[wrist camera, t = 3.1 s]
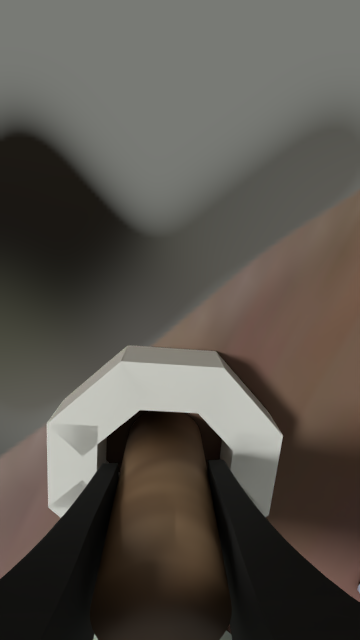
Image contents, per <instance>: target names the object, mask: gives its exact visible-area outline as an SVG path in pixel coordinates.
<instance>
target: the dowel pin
mask: <svg viewBox="0 0 360 640" xmlns="http://www.w3.org/2000/svg"><path fill="white" fill-rule="evenodd" d="M231 614H232V605H231V598H230V593H229V587H228V582H227V576H226V571H225V565H224V559H223V554H222V548H221V543H220V537H219V532H218V526H217V521H216V515H215V510H214V504H213V499H212V494H211V488H210V483H209V477H208V471H207V466H206V460H205V455H204V449H203V444H202V438H201V433H200V430H199V428H198V426H197V424H196V423H195V421H194V420H193V419H192V418H191V417H190V416H188V415H187V414H185V413H183V412H166V411H149V412H147V413H145V414H143V415H142V416H140V417H139V418H138V419H137V420H136V421H135V422H134V424H133V425H132V427H131V429H130V431H129V434H128V439H127V443H126V448H125V452H124V457H123V461H122V466H121V470H120V475H119V479H118V484H117V488H116V493H115V497H114V502H113V506H112V511H111V516H110V520H109V525H108V529H107V534H106V538H105V543H104V547H103V552H102V556H101V561H100V565H99V570H98V574H97V579H96V583H95V588H94V592H93V597H92V601H91V606H90V622H91V626H92V629H93V631H94V634H95V635H96V637H97V639H98V640H220V638H221V637H222V636H223V635H224V633H225V631H226V630H227V628H228V625H229V623H230V619H231Z"/></svg>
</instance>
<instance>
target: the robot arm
mask: <svg viewBox="0 0 360 640" xmlns="http://www.w3.org/2000/svg"><path fill="white" fill-rule="evenodd" d="M208 477H209V483H210V488H211V494H212V499H213V504H214V510H215V515H216V521H217V526H218V532H219V537H220V543H221V548H222V554H223V559H224V565H225V571H226V576H227V582H228V587H229V593H230V598H231V605H232V614H231V619H230V628H231V635H232V640H360V602H358V601H357V600H355V599H354V598H353V597H351V596H350V595H348V594H347V593H346V592H344V591H343V590H342V589H341V588H339V587H338V586H337V585H336V584H334V583H333V582H332V581H330V580H329V579H328V578H327V577H326V576H324V575H323V574H322V573H321V572H320V571H319V570H317V569H316V568H315V567H314V566H313V565H312V564H311V563H310V562H308V561H307V560H306V559H305V558H304V557H303V556H302V555H301V554H299V553H298V552H297V551H296V550H295V549H294V548H293V547H292V546H291V545H290V544H289V543H288V542H287V541H286V540H285V539H284V538H283V537H282V536H281V534H280V533H279V532H278V531H277V530H276V529H275V528H274V527H273V526H272V525H271V524H270V522H269V521H268V520H267V519H266V518H265V516H264V515H263V514H262V513H261V512H260V511H259V509H258V508H257V507H256V505H255V504H254V503H253V502H252V500H251V499H250V498H249V496H248V495H247V494H246V492H245V491H244V490H243V488H242V487H241V485H240V484H239V482H238V481H237V479H236V478H235V476H234V475H233V473H232V472H231V470H230V469H229V467H228V465H227V463H226V462H225V461H224V460H208ZM118 479H119V471H118V463H103V464H102V465H101V466H100V467H99V468H98V470H97V471H96V473H95V474H94V476H93V477H92V479H91V480H90V482H89V483H88V484H87V486H86V487H85V488H84V490H83V491H82V492H81V494H80V495H79V496H78V498H77V499H76V500H75V501H74V503H73V504H72V505H71V507H70V508H69V509H68V510H67V511H66V513H65V514H64V515H63V516H62V517H61V519H60V520H59V521H58V522H57V523H56V524H55V526H54V527H53V528H52V529H51V530H50V531H49V532H48V533H47V535H46V536H45V537H44V538H43V539H42V540H41V541H40V542H39V543H38V544H37V545H36V546H35V547H34V548H33V549H32V550H31V551H30V552H29V553H28V554H27V555H26V556H25V557H24V558H23V559H22V560H21V561H20V562H19V563H18V564H17V565H15V566H14V567H13V568H12V569H11V570H10V571H9V572H8V573H7V574H6V575H5V576H3V577H2V578H1V579H0V640H93V639H94V631H93V629H92V626H91V622H90V606H91V601H92V597H93V592H94V588H95V583H96V579H97V574H98V570H99V565H100V561H101V556H102V552H103V547H104V543H105V538H106V534H107V529H108V525H109V520H110V516H111V511H112V506H113V502H114V497H115V493H116V488H117V484H118ZM358 591H359V593H360V584H359V586H358Z"/></svg>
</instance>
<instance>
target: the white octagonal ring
mask: <svg viewBox="0 0 360 640" xmlns="http://www.w3.org/2000/svg"><path fill="white" fill-rule="evenodd" d="M139 410H148V411H166V412H185V413H198V414H199V415H200V416H201V417H202V418H203V419H204V420H205V421H206V422H207V423H208V425H209V426H210V427H211V428H212V429H213V430H214V431H215V432H216V433H217V434H218V435H219V436H220V437H221V438H222V444H221V452H220V460H224V461H225V462H226V463H227V465H228V467H229V469H230V470H231V472H232V473H233V475H234V476H235V478H236V479H237V481H238V482H239V484H240V485H241V487H242V488H243V490H244V491H245V492H246V494H247V495H248V496H249V498H250V499H251V500H252V502H253V503H254V504H255V505H256V507H257V508H258V509H259V511H260V512H261V513H262V514H263V515H264V516H265V517H267V516H268V515H269V511H270V506H271V500H272V494H273V489H274V483H275V478H276V472H277V467H278V461H279V455H280V450H281V444H282V439H283V434H282V433H281V431H280V430H279V428H278V427H277V425H276V423H275V422H274V420H273V419H272V417H271V416H270V414H269V412H268V411H267V410H266V409H265V407H264V406H263V405H262V404H261V403H260V402H259V401H258V399H257V398H256V397H255V396H254V395H253V394H252V392H251V391H250V390H249V389H248V388H247V387H246V386H245V384H244V383H243V382H242V381H241V380H240V379H239V377H238V376H237V375H236V374H235V373H234V372H233V371H232V369H231V368H230V367H229V366H228V365H227V364H226V362H225V361H224V360H223V359H222V358H221V357H220V356H219V354H218V353H217V352H216V351H205V350H190V349H175V348H160V347H145V346H129V345H128V346H127V347H125V348H124V349H123V350H122V351H121V352H120V353H118V354H117V355H116V356H115V357H114V358H112V359H111V360H110V361H109V362H108V363H107V364H105V365H104V366H103V367H102V368H101V369H99V370H98V371H97V372H96V373H95V374H94V375H92V376H91V377H90V378H89V379H88V380H87V381H85V382H84V383H83V384H82V385H81V386H80V387H78V388H77V389H76V390H75V391H74V392H72V393H71V394H70V395H69V396H68V397H66V398H65V399H64V400H63V402H62V403H61V405H60V406H59V407H58V409H57V410H56V411H55V413H54V414H53V415H52V417H51V418H50V420H49V421H48V422H47V463H48V508H50V509H51V510H52V511H53V512H55V513H56V514H57V515H58V516H59V517H60V518H61V517H62V516H63V515H64V514H65V513H66V511H67V510H68V509H69V508H70V507H71V505H72V504H73V503H74V501H75V500H76V499H77V498H78V496H79V495H80V494H81V492H82V491H83V490H84V488H85V487H86V486H87V484H88V483H89V482H90V480H91V479H92V477H93V476H94V474H95V473H96V471H97V470H98V468H99V467H100V466H101V465H102V464H103V463H109V462H108V461H106V446H107V436H108V435H110V434H111V433H112V432H113V431H115V430H116V429H117V428H118V427H120V426H121V425H122V424H123V423H125V422H126V421H127V420H128V419H130V418H131V417H132V416H133V415H135V414H136V413H137V412H138V411H139ZM119 475H120V473H119Z"/></svg>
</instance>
